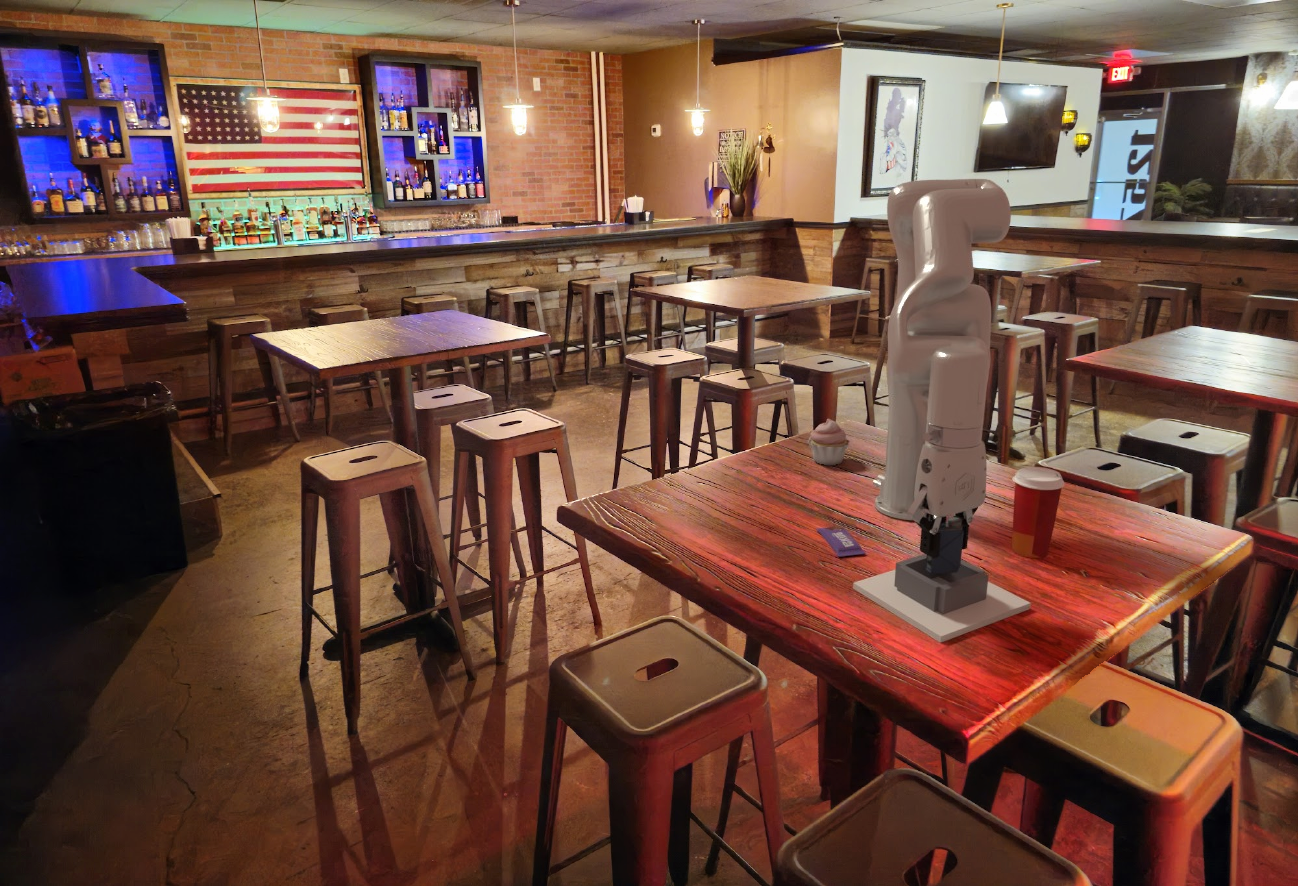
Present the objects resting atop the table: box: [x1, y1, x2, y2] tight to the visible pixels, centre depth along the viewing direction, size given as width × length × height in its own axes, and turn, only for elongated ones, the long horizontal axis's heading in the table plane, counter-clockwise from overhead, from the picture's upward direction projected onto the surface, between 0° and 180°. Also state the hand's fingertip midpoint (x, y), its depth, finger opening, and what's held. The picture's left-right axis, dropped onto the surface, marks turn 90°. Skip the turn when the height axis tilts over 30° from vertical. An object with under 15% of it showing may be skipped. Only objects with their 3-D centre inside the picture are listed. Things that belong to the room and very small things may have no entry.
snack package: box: [815, 525, 867, 557], centre depth 145 cm, size 12×2×5 cm
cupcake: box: [806, 418, 850, 466], centre depth 183 cm, size 9×9×10 cm
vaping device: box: [926, 514, 964, 574], centre depth 122 cm, size 3×5×12 cm, turn 95°
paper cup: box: [1011, 466, 1066, 559], centre depth 137 cm, size 8×8×14 cm
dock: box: [852, 553, 1031, 644], centre depth 125 cm, size 18×18×5 cm
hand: (943, 549), depth 123 cm, fingers closed on vaping device, 4 cm apart
